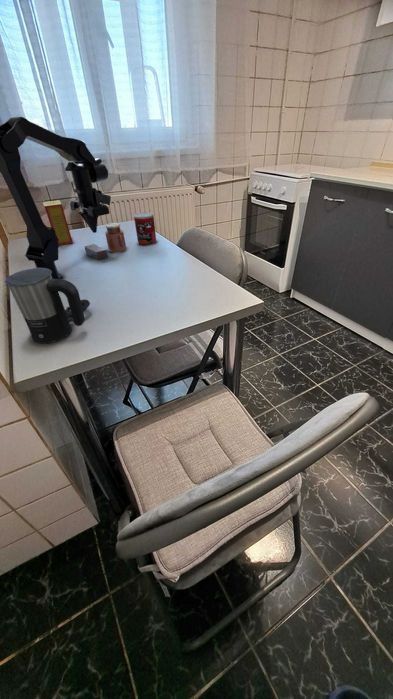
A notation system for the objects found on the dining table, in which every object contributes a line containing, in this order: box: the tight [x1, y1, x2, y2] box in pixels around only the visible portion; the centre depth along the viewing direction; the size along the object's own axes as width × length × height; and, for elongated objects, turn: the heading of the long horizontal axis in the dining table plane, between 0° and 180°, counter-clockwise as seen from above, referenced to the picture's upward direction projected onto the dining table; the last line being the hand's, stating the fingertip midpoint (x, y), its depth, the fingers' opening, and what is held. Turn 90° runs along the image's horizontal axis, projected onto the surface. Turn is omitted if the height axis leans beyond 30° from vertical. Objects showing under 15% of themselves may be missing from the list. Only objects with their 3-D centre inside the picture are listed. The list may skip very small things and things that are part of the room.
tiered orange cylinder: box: [104, 222, 127, 254], centre depth 116 cm, size 8×11×11 cm
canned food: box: [133, 212, 157, 246], centre depth 121 cm, size 8×8×11 cm
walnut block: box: [83, 243, 109, 261], centre depth 113 cm, size 10×4×3 cm, turn 43°
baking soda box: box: [42, 199, 74, 247], centre depth 125 cm, size 10×6×16 cm
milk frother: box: [4, 267, 91, 344], centre depth 70 cm, size 14×16×15 cm
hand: (94, 232), depth 110 cm, fingers closed
